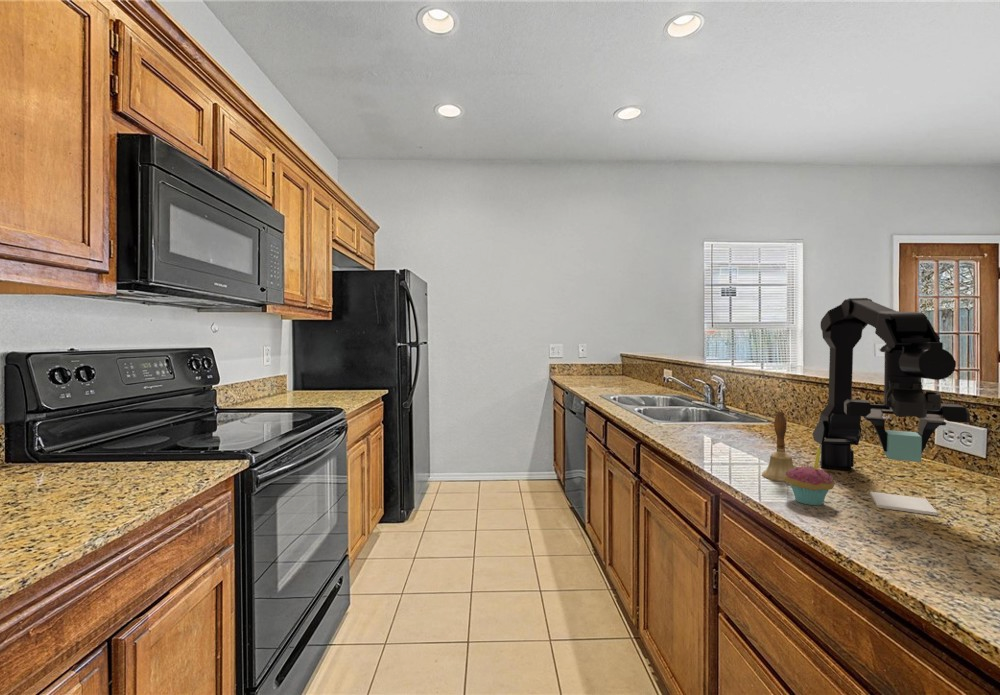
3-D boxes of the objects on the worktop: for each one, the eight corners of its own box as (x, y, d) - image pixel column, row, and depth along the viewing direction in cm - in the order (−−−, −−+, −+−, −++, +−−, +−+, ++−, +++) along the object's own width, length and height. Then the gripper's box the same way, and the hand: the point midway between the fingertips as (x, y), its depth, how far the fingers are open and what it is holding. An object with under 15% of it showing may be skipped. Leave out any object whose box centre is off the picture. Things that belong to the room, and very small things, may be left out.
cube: (888, 459, 95) (888, 434, 95) (884, 453, 99) (884, 429, 99) (921, 462, 93) (921, 436, 92) (915, 456, 97) (915, 432, 97)
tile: (877, 507, 95) (877, 504, 95) (870, 494, 102) (870, 491, 102) (937, 515, 90) (937, 512, 90) (925, 501, 98) (925, 498, 98)
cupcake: (826, 497, 101) (826, 440, 101) (840, 511, 93) (840, 449, 93) (780, 493, 104) (780, 438, 104) (790, 506, 96) (790, 446, 96)
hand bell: (764, 480, 113) (764, 413, 113) (759, 471, 121) (759, 408, 121) (804, 484, 110) (805, 415, 110) (797, 474, 118) (797, 410, 117)
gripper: (849, 377, 94) (849, 456, 94) (980, 380, 84) (979, 468, 84) (843, 373, 103) (843, 444, 103) (960, 375, 94) (959, 455, 94)
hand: (902, 452), depth 96 cm, fingers closed on cube, 5 cm apart
